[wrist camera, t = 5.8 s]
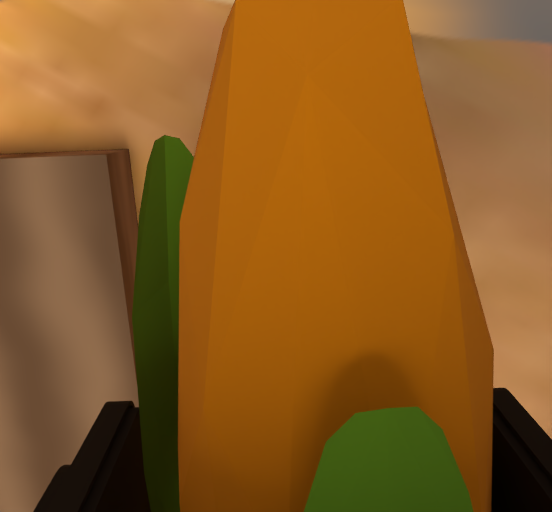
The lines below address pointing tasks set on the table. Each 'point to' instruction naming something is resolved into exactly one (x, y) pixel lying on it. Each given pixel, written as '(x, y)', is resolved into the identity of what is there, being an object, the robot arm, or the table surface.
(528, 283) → the table surface
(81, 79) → the table surface
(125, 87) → the table surface
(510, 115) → the table surface
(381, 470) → the corn
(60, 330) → the board
